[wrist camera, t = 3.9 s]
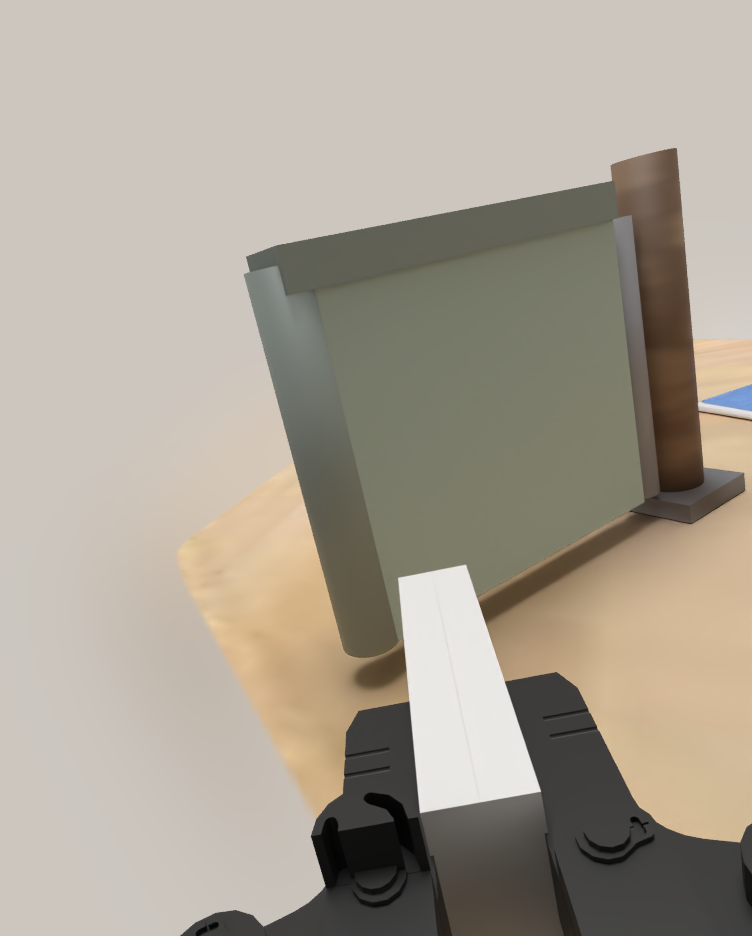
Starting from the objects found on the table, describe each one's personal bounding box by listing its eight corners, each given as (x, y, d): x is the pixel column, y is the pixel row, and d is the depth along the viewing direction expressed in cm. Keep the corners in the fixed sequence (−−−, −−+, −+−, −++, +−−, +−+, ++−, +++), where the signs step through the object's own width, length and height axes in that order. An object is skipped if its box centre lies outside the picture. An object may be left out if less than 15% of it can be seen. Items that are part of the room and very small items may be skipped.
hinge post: (663, 477, 41) (631, 164, 36) (745, 489, 36) (721, 137, 31) (610, 506, 38) (568, 175, 33) (691, 523, 34) (657, 148, 29)
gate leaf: (631, 482, 37) (596, 188, 33) (673, 489, 35) (642, 175, 31) (331, 642, 28) (227, 260, 23) (364, 666, 26) (256, 249, 21)
